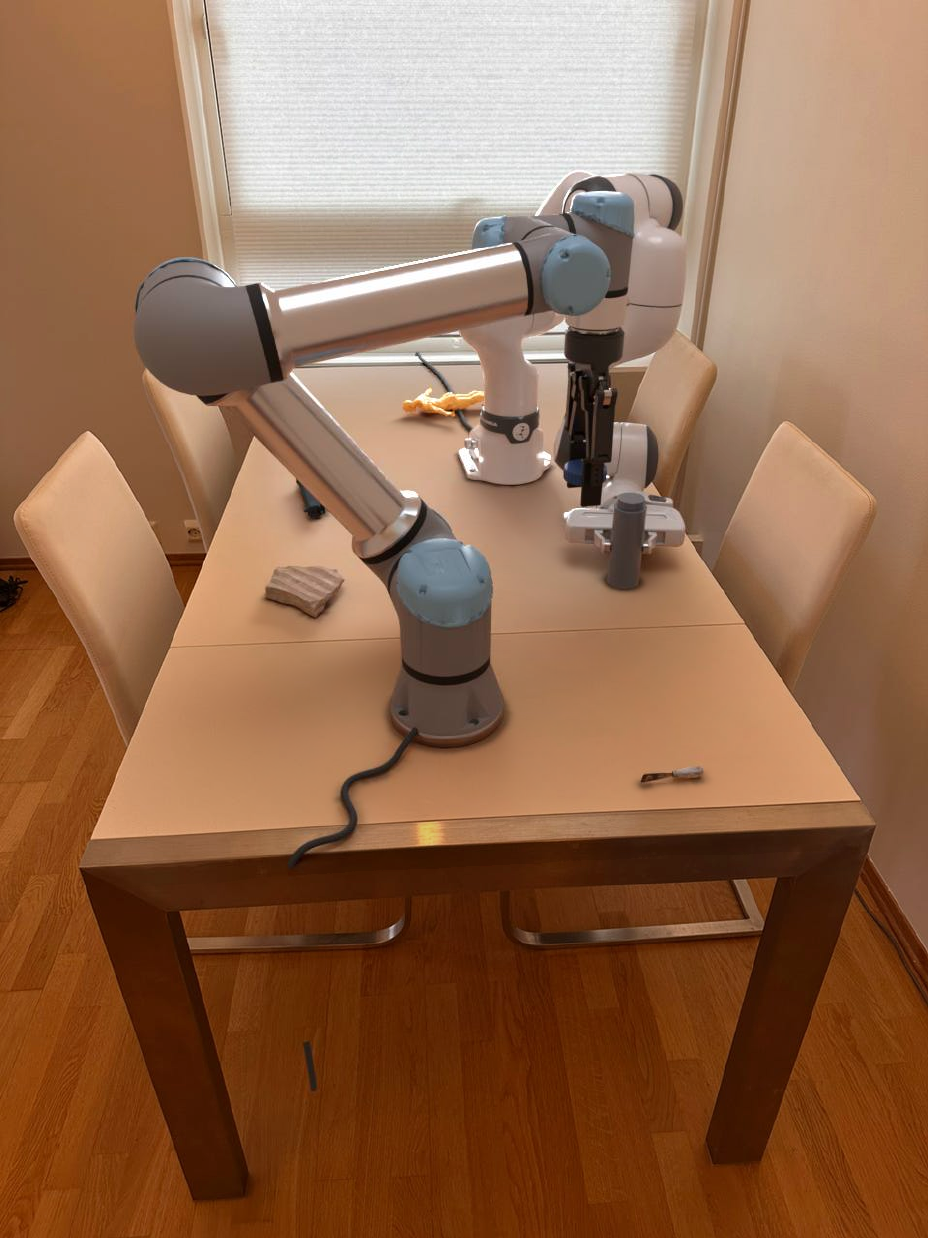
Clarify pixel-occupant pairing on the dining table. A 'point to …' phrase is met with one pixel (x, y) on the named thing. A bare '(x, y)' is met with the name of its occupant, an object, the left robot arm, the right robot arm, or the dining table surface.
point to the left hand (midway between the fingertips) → (583, 495)
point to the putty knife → (674, 774)
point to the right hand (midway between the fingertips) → (626, 549)
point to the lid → (577, 472)
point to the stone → (304, 587)
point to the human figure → (443, 402)
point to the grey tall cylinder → (626, 541)
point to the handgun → (311, 503)
